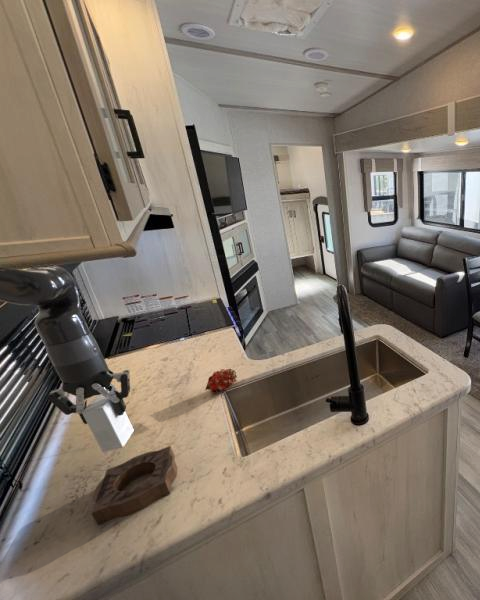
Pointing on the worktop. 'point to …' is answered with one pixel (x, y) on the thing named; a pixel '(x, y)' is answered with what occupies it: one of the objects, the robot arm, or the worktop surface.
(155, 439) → the worktop surface
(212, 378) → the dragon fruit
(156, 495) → the hole block
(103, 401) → the cosmetic box
